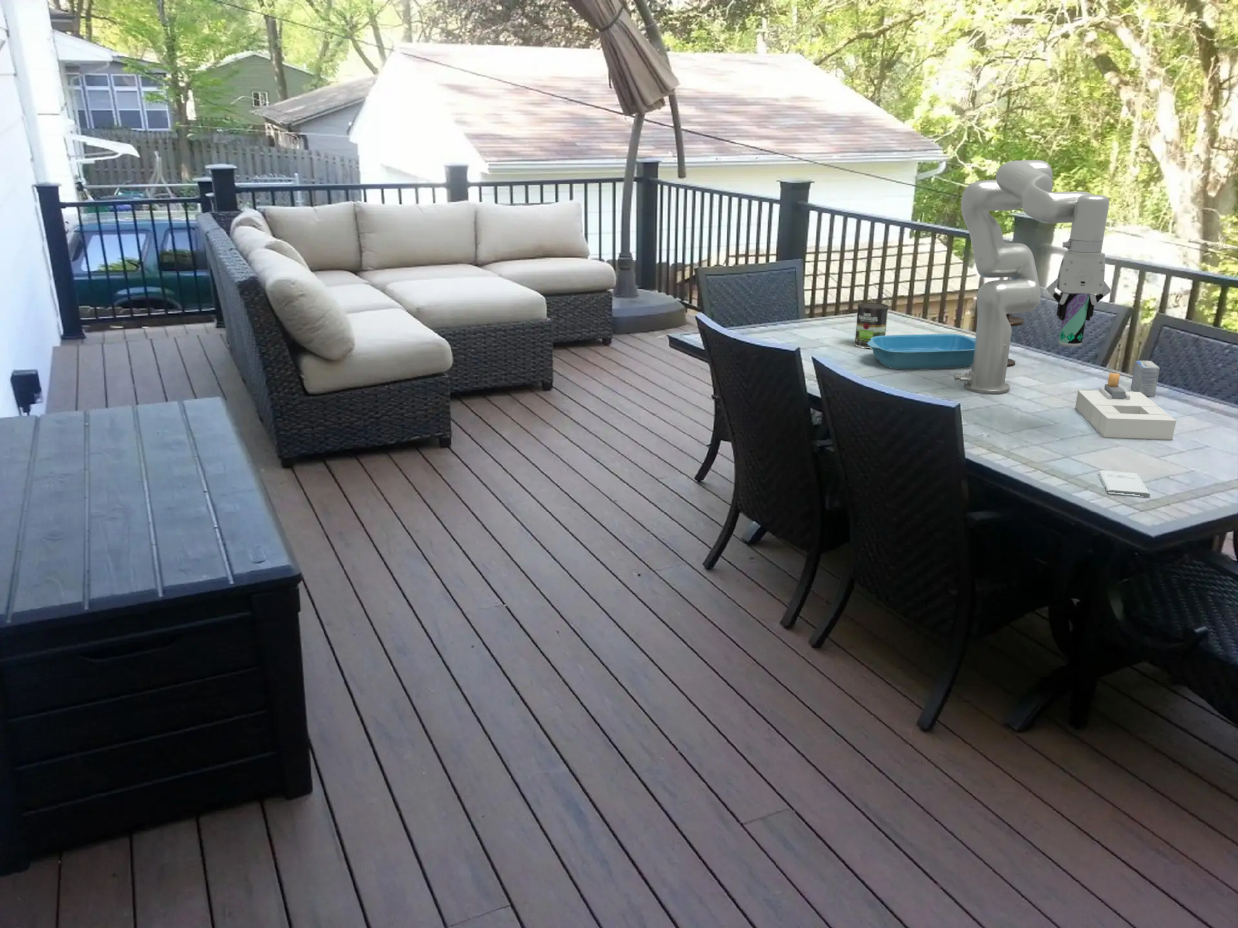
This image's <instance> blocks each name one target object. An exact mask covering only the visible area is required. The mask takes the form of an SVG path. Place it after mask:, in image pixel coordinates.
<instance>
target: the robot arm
mask: <svg viewBox="0 0 1238 928" xmlns="http://www.w3.org/2000/svg"><path fill="white" fill-rule="evenodd" d="M1053 175H1054V174H1053V169H1052V167H1051V165H1050V164H1049V163H1048V162H1046V161H1045V160H1042V159H1041V160H1040V159H1025V160H1024V159H1023V160H1022V159H1021V160H1011V161H1008V162H1005V163H1003V164H1002V165H1000V167H999V168H998V170H996V173H995V179H986V180H985V179H984V180H979V181H975V182H972V183H970V184H969V185H967V187H966V188H965V189H964V190H963V193H962V196H961V200H960V209H961V215H962V216H961V217H962V218H963V222H964V223H965V226H966V228H967V231H968V234H969V238H970V242H971V247H972V254H973V258H974V263H975V268H976V271H977V273H978V275H979V276H980V277H982V278H986V279H995V278H998V279H997V280H991V281H987V282H985V283H983V284H982V285H981V286H980V287H979V288H978V290H977V292H976V308H977V309H976V310H977V323H976V331H975V338H976V339H975V347H974V355H973V363H972V365H971V369H969V370H968V372H965V373H956V372H955V373H954V375H953V380H954V381H959V382H964V388H965V389H966V390H968V391H972V392H975V393H980V394H994V395H995V394H1004V393H1008V392H1009V391H1010V389H1011V385H1010V384H1009V383H1007V382H1006V377H1007V370H1008V367H1007V363H1008V358H1009V354H1010V346H1011V339H1012V333H1013V332H1012V331H1013V329H1012V326H1011V325H1010V323H1009V321H1008V319H1007V317H1006V314H1010V315H1011V314H1018V313H1019V314H1022V313H1029V312H1032V311H1034V310H1036V309H1037V308H1038V307H1039V305H1040V302H1041V297H1042V296H1041V294H1042V293H1041V286H1040V282H1039V281H1040V280H1039V276H1038V271H1037V267H1036V261H1035V257H1034V254H1033V252H1032V250H1031V249H1030V248H1029V247H1028V246H1027V245H1026V244H1024V243H1019V242H1013V243H1010V242H1009V243H1007V242H1005V240H1004V237H1003V231H1002V227H1001V226H1000V224H999V222H998V221H997V220H996V218H995V217H993V216H992V215H991V213H990V211H991V212H994V211H996V212H997V211H1014V210H1019V209H1021V208H1022V210H1023V212H1024V214H1026V215H1027V216H1028V217H1030V218H1031V219H1034V220H1035V221H1036V222H1037V221H1038V222H1039V223H1043V224H1062V223H1063V224H1064V223H1065V224H1066V223H1067V224H1068V223H1069V224H1071V228H1070V229H1071V230H1070V235H1069V238H1068V240H1067V241H1063V242H1062V248H1065V249H1067V251H1064V254H1063V256H1062V259H1061V262H1060V266H1059V270H1058V274H1057V278H1056V279H1055V280H1053V282H1051V283H1050V284H1049V285H1048V286H1047V287H1046V292H1048V293H1049V295H1050V296H1052V297H1053V299H1054V300H1055V301H1056V302H1057V309H1056V316H1057V318H1058V319H1059V321H1062V320H1064V318H1065V311H1066V305H1065V301H1066V299H1067V297H1068V295H1069V294H1077V293H1084V294H1090V296H1089V303H1088V309H1087V315H1086V322H1090V321H1091V318H1092V317H1094V308H1095V306H1096V305H1097V303H1098V302H1099V301H1101V300H1102V299H1104V297H1106V296H1107V295H1109V294H1110V293H1111V292H1112V290H1111V288H1110V287H1109V285H1108V284H1107V283H1106V281H1105V273H1106V272H1105V271H1106V254H1105V253H1104V252H1102V249H1103V243H1104V237H1105V231H1106V225H1107V218H1108V215H1109V207H1110V200H1109V199H1110V198H1109V197H1108V196H1106V195H1101V194H1092V193H1090V192H1088V191H1054V192H1053V188H1054V183H1053V177H1054V176H1053ZM1008 277H1011V279H1012V280H1008V279H999V278H1008ZM1081 280H1085V283H1084V284H1082V283H1081ZM1080 284H1081V285H1084V286H1081V285H1080ZM1056 289H1057V290H1058V291H1060V293H1058V292H1057V291H1056Z"/></svg>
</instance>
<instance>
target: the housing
mask: <svg viewBox="0 0 1238 928" xmlns="http://www.w3.org/2000/svg"><path fill="white" fill-rule="evenodd" d="M1104 388H1105V387H1099V388H1098V389H1099V390H1080V389H1079V390H1077V395H1076V400H1075V407H1074V408H1075V409H1076V411H1078V413H1080V414H1081V415H1082V416H1083V418H1084V419H1086V420H1087V421H1088V422H1089V424H1091V426H1093V428H1095V430H1097V432H1099V434H1100V435H1101V436H1103V438H1110V439H1111V438H1114V439H1115V438H1117V439H1145V440H1170V441H1172V440H1173V438H1174V433H1175V429H1176V428H1175V427H1176V423H1177V420H1176V419H1175V418H1174V417H1172V416H1171V415H1170V414H1168V413H1167V412H1166V410H1164V409H1163V408H1161V407H1160V406H1159V405H1157V404H1156V403H1154V402H1153V401H1152V399H1150V398H1149V397H1146V396H1145V395H1143V394H1142V393H1141V392H1134V391H1125V398H1124V399H1112V395H1110V394H1109V393H1108V392H1107V391H1106V390H1105V389H1104Z"/></svg>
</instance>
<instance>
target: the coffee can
mask: <svg viewBox="0 0 1238 928" xmlns="http://www.w3.org/2000/svg"><path fill="white" fill-rule="evenodd" d="M889 308H890V307H889V305H888V304H885V303H880V302H862V303H858V304H857V313H856V314H857V315H856V326H855V337H854V338H855V339H854V346H855V345H857V346H859V347H864V348H870V349H869V350H873V349H872V348H871V347H869V346H868V345H867V342H869V341H870V340H871V338H872V337H875V336H885V335H886V334H887V332H886V331H887V325H888V324H887V323H888V312H889ZM859 347H858V348H859ZM864 348H863V349H864Z"/></svg>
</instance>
